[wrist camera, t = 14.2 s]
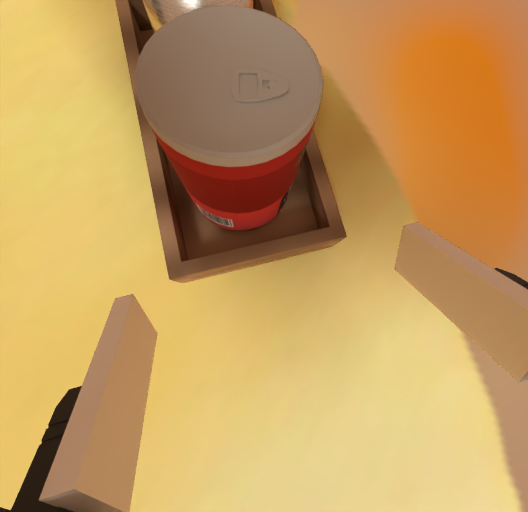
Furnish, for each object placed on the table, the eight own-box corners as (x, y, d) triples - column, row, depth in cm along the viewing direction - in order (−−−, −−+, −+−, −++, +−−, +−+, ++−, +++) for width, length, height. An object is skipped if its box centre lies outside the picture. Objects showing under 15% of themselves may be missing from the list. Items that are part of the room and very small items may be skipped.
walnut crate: (331, 246, 22) (346, 236, 18) (182, 283, 21) (169, 279, 17) (260, 16, 26) (262, -27, 22) (132, 35, 25) (113, -8, 21)
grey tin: (151, 75, 23) (90, -68, 14) (204, 23, 24) (177, -138, 15) (218, 121, 22) (198, 3, 13) (268, 65, 24) (279, -75, 15)
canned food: (298, 221, 21) (349, 135, 10) (204, 244, 20) (152, 178, 9) (273, 141, 22) (295, -11, 11) (184, 160, 21) (117, 16, 11)
